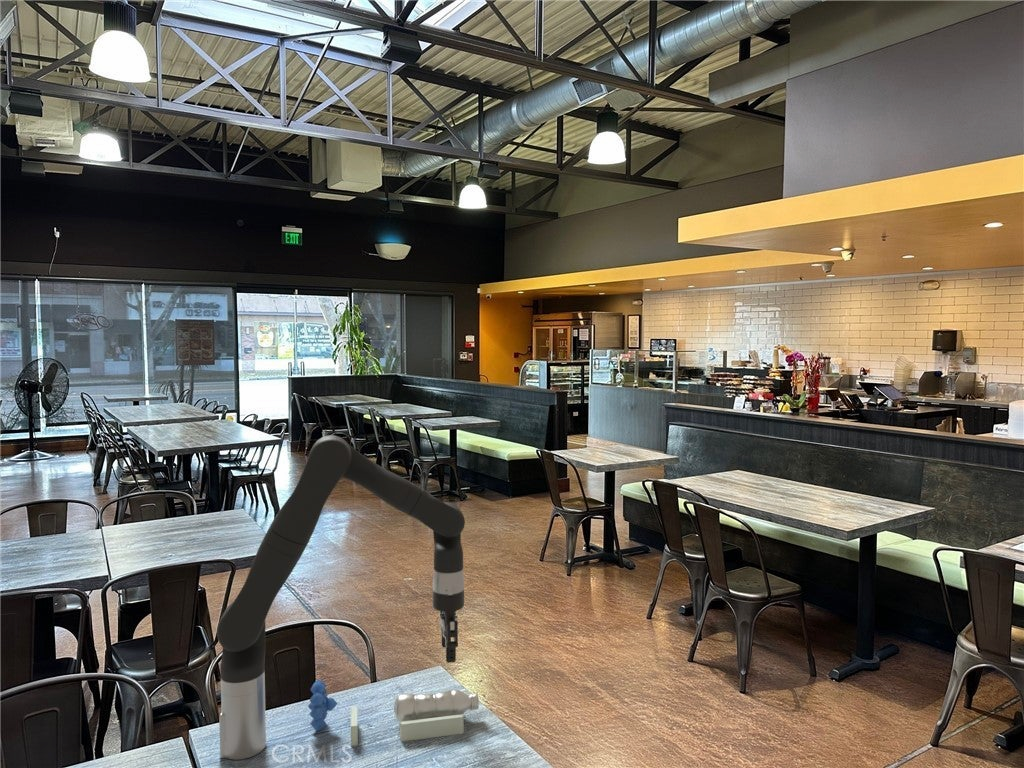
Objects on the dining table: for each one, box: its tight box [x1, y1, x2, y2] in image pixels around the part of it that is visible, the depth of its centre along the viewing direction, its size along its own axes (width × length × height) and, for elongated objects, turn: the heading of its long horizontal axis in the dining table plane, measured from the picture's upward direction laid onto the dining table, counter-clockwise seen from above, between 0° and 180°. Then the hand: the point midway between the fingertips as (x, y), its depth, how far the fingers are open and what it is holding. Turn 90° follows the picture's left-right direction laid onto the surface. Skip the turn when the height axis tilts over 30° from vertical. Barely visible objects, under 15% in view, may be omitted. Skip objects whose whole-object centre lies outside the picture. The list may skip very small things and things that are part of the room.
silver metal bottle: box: [393, 689, 480, 724], centre depth 164 cm, size 6×7×20 cm
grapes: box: [307, 679, 338, 732], centre depth 161 cm, size 12×7×12 cm, turn 11°
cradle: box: [398, 714, 465, 742], centre depth 163 cm, size 14×11×4 cm
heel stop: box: [350, 705, 359, 746], centre depth 159 cm, size 2×9×4 cm, turn 13°
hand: (448, 654), depth 164 cm, fingers open, 8 cm apart
